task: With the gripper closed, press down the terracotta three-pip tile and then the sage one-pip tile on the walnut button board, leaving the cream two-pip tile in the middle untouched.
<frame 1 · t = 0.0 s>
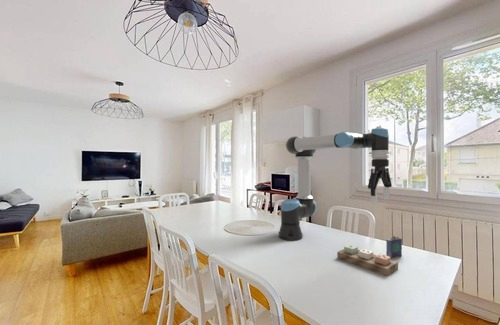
hand: (380, 201, 115), 28 cm above the table, fingers open, 13 cm apart
board: (366, 263, 108), on the table
flask: (393, 256, 116), on the table
tile 1pip: (350, 249, 114), point 4 cm above the table, slide at 0.0 cm
tile 2pip: (366, 253, 108), point 4 cm above the table, slide at 0.0 cm
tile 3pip: (382, 259, 102), point 4 cm above the table, slide at 0.0 cm
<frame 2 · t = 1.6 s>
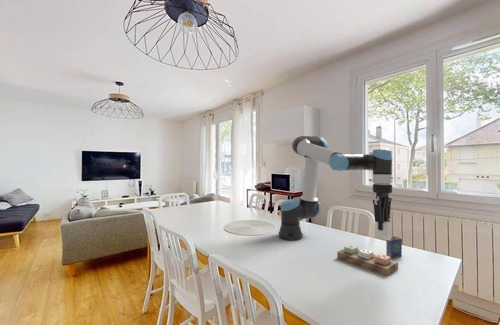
hand: (382, 236, 102), 14 cm above the table, fingers closed
nothing on the table moved.
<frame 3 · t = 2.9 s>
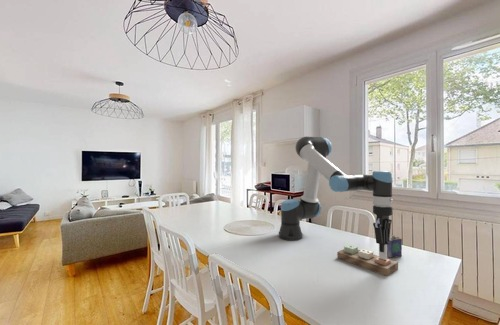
hand: (383, 258, 102), 5 cm above the table, fingers closed
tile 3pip: (382, 262, 102), point 3 cm above the table, slide at 1.2 cm, touching gripper
everything else where it was.
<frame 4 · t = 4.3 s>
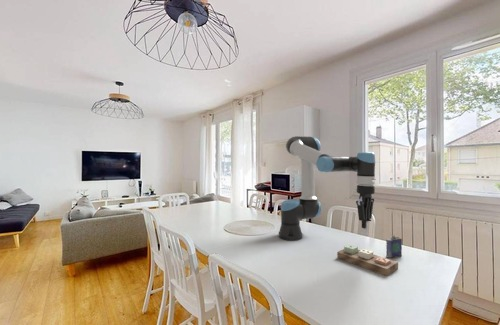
hand: (365, 234, 109), 13 cm above the table, fingers closed
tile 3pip: (382, 262, 102), point 3 cm above the table, slide at 1.4 cm
everything else where it was.
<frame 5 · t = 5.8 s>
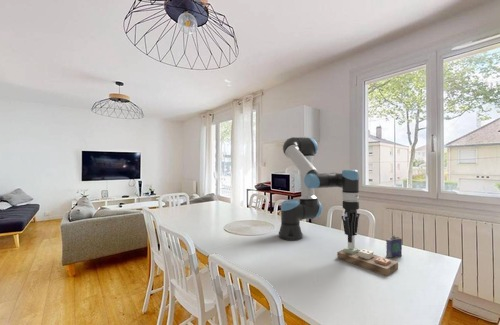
hand: (351, 248, 114), 5 cm above the table, fingers closed
tile 1pip: (350, 251, 114), point 3 cm above the table, slide at 1.0 cm, touching gripper
everything else where it was.
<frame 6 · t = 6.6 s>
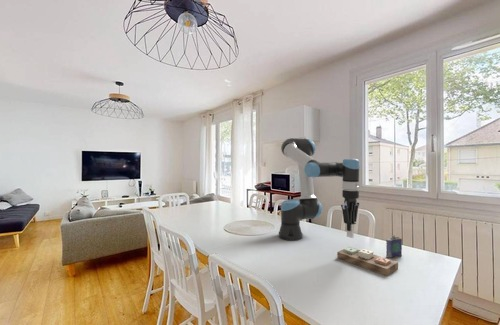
hand: (350, 236, 115), 10 cm above the table, fingers closed
tile 1pip: (350, 251, 114), point 3 cm above the table, slide at 1.4 cm
everything else where it was.
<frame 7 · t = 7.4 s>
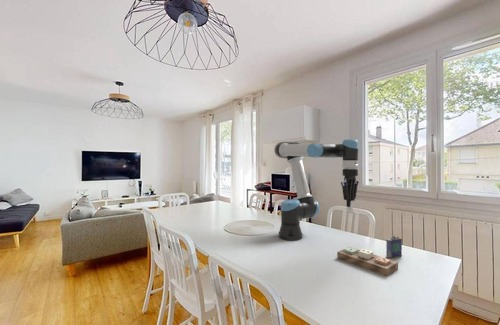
hand: (349, 212, 123), 21 cm above the table, fingers closed
nothing on the table moved.
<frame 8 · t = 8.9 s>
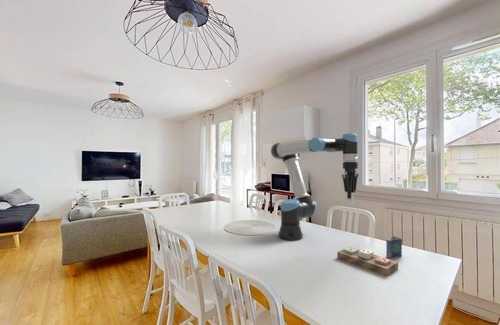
hand: (350, 204, 127), 24 cm above the table, fingers closed
nothing on the table moved.
at the end: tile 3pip slide at 1.4 cm; tile 1pip slide at 1.4 cm; tile 2pip slide at 0.0 cm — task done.
